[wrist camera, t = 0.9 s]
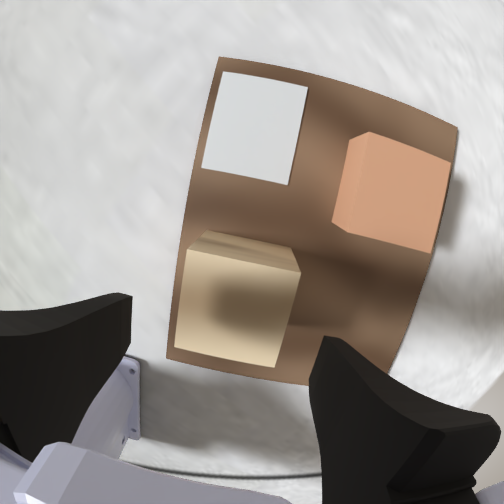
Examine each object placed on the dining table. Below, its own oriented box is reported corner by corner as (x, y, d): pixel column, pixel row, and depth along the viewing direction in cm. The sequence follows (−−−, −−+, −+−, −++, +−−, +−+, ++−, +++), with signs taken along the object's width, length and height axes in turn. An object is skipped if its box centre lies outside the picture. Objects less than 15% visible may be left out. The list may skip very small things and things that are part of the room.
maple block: (271, 323, 19) (274, 367, 14) (194, 306, 19) (174, 346, 14) (290, 247, 18) (301, 272, 13) (207, 229, 18) (187, 248, 13)
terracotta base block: (403, 240, 18) (430, 253, 14) (331, 221, 18) (347, 232, 14) (421, 164, 17) (450, 162, 13) (349, 139, 16) (368, 131, 13)
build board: (376, 388, 21) (378, 392, 20) (167, 355, 21) (165, 359, 20) (454, 128, 16) (458, 127, 16) (219, 58, 16) (218, 56, 15)
